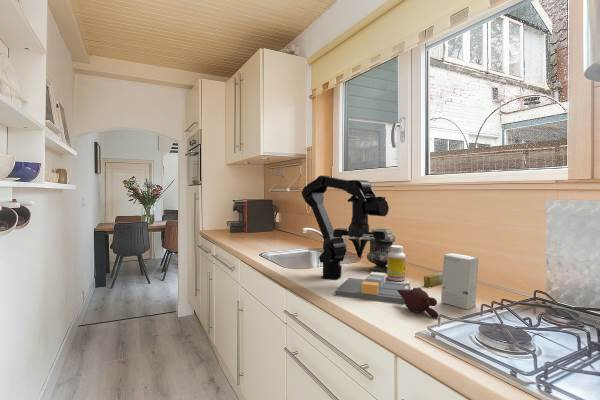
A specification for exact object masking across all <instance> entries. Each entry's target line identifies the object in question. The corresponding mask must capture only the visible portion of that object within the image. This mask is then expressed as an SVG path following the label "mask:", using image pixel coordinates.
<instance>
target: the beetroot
mask: <svg viewBox="0 0 600 400" xmlns="http://www.w3.org/2000/svg"><path fill="white" fill-rule="evenodd" d="M397 291H398V293H399V294H400V295H401V296H402V298H403V299H404V302H405V304H404V305H405V307H406V308H407V309H408V311H410V312H412V311H413V312H416V313H420V314H421V313H423V312H426V313H427V314H428V315H429V316H430V317H431V318H433V319H438V318H439V316H438V315H439V313H438V312H437V311H436V310H435V309H433V308H431V307H435V306H437V304H438V300H437V299H436V298H434V297H431V296H430V295H429V294H428V293H427V291H425V290H424V289H422V288H421V287H412V289H410V290H397Z"/></svg>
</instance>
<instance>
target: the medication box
mask: <svg viewBox="0 0 600 400" xmlns="http://www.w3.org/2000/svg"><path fill="white" fill-rule="evenodd" d="M442 280H443V271H439V272H435V273H432V274H431V273H430V274H427V275H424V276H423V286H424V287H427V288H430V287H431V288H433V287H438V286H442V285H441V284H442Z"/></svg>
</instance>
